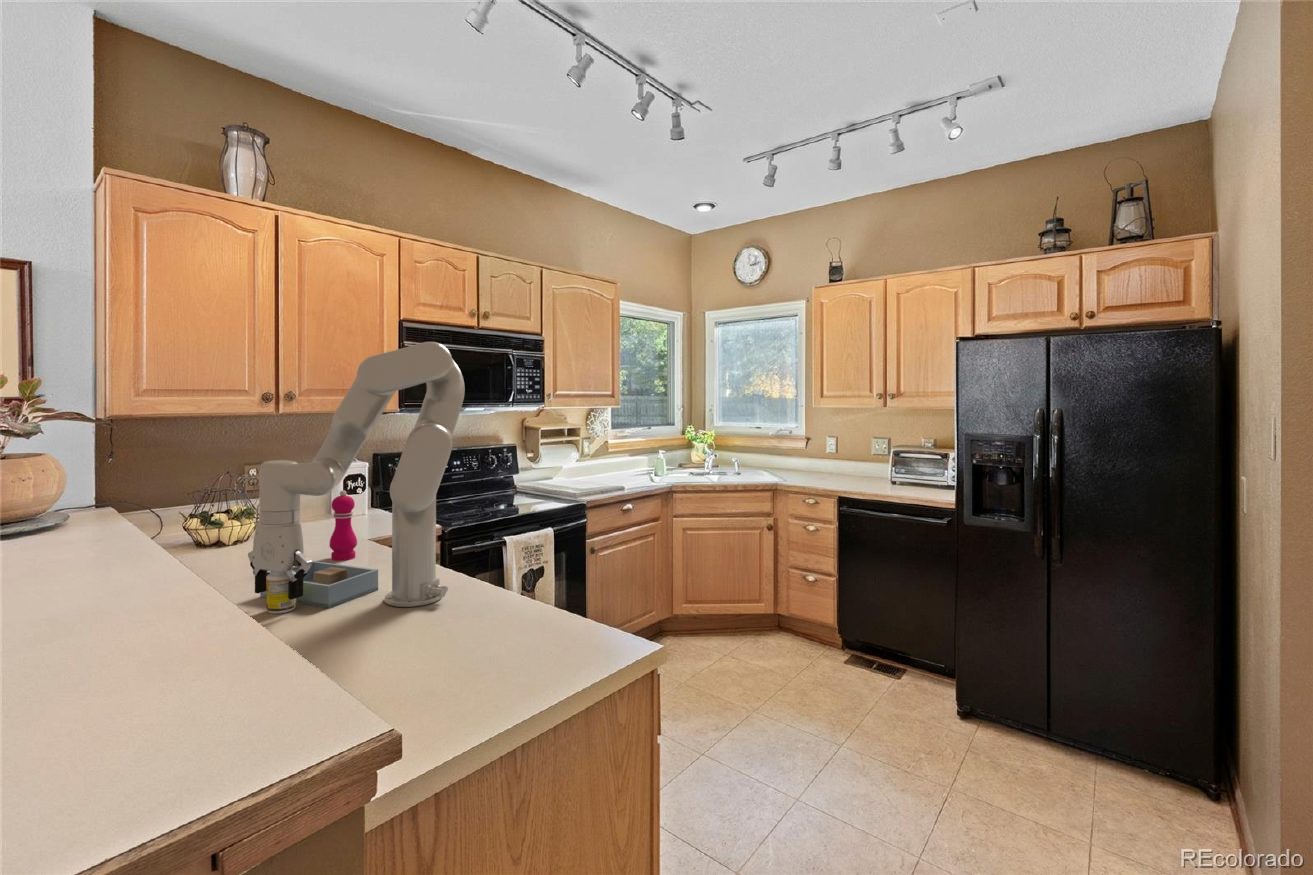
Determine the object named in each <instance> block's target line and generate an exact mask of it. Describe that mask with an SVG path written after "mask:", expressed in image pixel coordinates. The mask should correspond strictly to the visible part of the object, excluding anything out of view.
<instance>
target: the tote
mask: <svg viewBox="0 0 1313 875" xmlns="http://www.w3.org/2000/svg"><path fill="white" fill-rule="evenodd" d="M311 561H312V560H311ZM330 567H334V568H341V569H347V579H345V580H342V581H339V582H336V583H333V584H330V585H326V584H319V583H313V572H316V571H320V570H323V569H326V568H330ZM294 572H295V573H297V571H296V570H294ZM378 590H379V569H377V568H376V569H375V568H368V567H361V566H360V567H359V566H354V565H353V566H352V565H347V564H338V563H332V562H324V561H318V560H317V561H315V560H313V561H312V565H311V567H310V569H309V573H308V574H307V575H306V578H304V579H303V596H301V597H298V598H296V604H301V605H306V606H311V607H319V608H322V609H323V608H324V609H331V608H333V607H335V606H336V607H337V606H339V605H341V604H344V603H346V602H349V601H353V600H355V599H357V598H360V597H363V596H366V595H368V594H371V593H373V591H374V592H376V591H378ZM259 594H260V598H263V599H264V598H265V599H267V591H265V592H261V593H259Z"/></svg>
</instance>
